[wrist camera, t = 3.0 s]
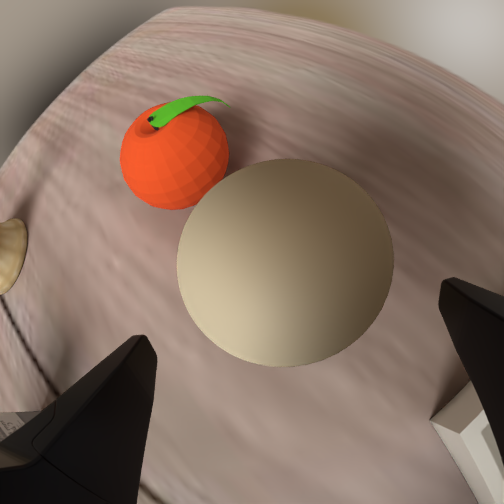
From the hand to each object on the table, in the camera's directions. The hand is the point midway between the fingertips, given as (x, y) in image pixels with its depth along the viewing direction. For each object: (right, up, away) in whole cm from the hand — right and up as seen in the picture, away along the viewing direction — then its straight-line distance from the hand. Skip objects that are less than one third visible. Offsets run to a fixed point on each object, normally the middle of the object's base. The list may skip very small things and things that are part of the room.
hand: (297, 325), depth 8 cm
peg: (+1, -2, +8) cm, 9 cm away
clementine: (-5, +7, +13) cm, 16 cm away
